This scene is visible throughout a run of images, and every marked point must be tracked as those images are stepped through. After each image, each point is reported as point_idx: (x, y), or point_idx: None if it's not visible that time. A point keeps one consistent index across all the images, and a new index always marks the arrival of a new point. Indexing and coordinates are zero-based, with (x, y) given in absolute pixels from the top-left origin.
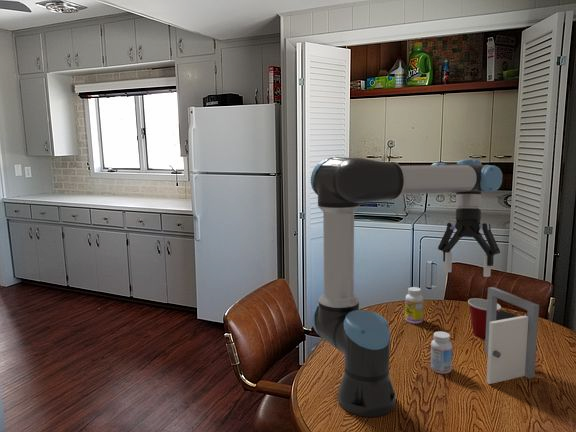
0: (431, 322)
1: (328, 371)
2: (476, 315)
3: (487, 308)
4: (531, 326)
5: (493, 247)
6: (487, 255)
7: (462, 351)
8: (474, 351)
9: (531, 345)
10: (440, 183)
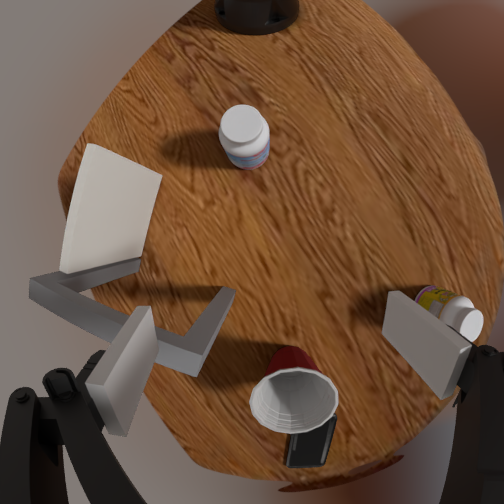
0: None
1: (355, 22)
2: (294, 362)
3: (215, 323)
4: None
5: (9, 420)
6: (90, 397)
7: (270, 256)
8: (253, 277)
9: None
10: None
